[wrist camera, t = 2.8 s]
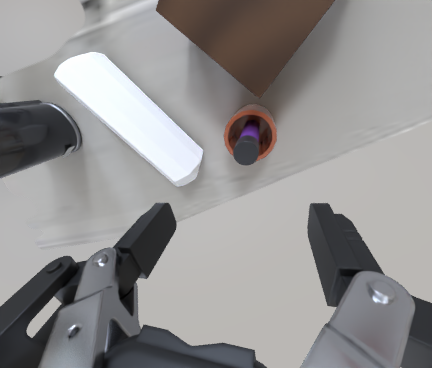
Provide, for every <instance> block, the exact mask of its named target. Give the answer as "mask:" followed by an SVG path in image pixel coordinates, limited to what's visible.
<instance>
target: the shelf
mask: <svg viewBox="0 0 432 368" xmlns="http://www.w3.org/2000/svg"><path fill="white" fill-rule="evenodd" d="M334 1H335V0H159V1H158V5H157V8H156V11H157V12H158V13H159V14H160V15H162V16H163V17H164V18H165V19H166V20H167V21H169V22H170V23H171V24H172V25H173V26H174V27H176V28H177V29H178V30H179V31H180V32H181V33H183V34H184V35H185V36H186V37H187V38H189V39H190V40H191V41H192V42H193V43H194V44H196V45H197V46H198V47H199V48H200V49H201V50H203V51H204V52H205V53H206V54H207V55H209V56H210V57H211V58H212V59H213V60H214V61H216V62H217V63H218V64H219V65H220V66H221V67H223V68H224V69H225V70H226V71H227V72H228V73H230V74H231V75H232V76H233V77H234V78H236V79H237V80H238V81H239V82H240V83H241V84H243V85H244V86H245V87H246V88H247V89H248V90H250V91H251V92H252V93H253V94H254V95H256V96H257V97H258V98H260V97H261V96H262V95H263V93H264V92H265V91H266V89H267V88H268V87H269V85H270V84H271V83H272V82H273V80H274V79H275V78H276V76H277V75H278V74H279V72H280V71H281V70H282V69H283V67H284V66H285V65H286V63H287V62H288V61H289V59H290V58H291V57H292V56H293V54H294V53H295V52H296V50H297V49H298V48H299V46H300V45H301V44H302V43H303V41H304V40H305V39H306V37H307V36H308V35H309V33H310V32H311V31H312V30H313V28H314V27H315V26H316V24H317V23H318V22H319V20H320V19H321V18H322V16H323V15H324V14H325V13H326V11H327V10H328V9H329V7H330V6H331V5H332V3H333V2H334Z"/></svg>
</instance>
